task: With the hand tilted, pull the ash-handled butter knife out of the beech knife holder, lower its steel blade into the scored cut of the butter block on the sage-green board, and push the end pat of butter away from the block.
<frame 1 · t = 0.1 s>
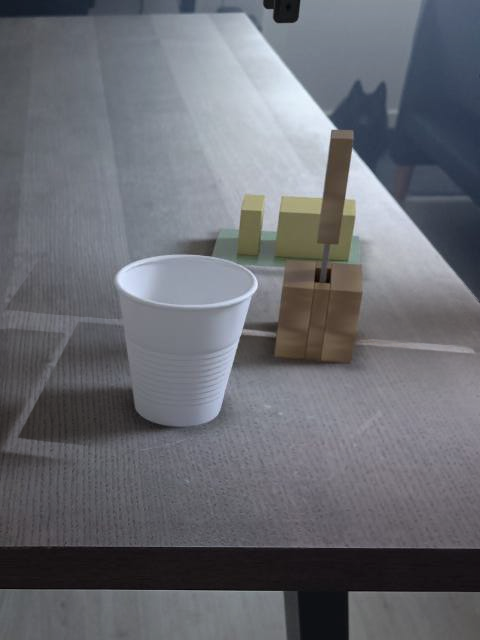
hand: (279, 15, 97), 22 cm above the table, tool pointing down, fingers open, 8 cm apart
knife: (313, 344, 86), point 1 cm above the table, touching knife holder
butter block: (286, 248, 103), resting on board
cup: (176, 419, 78), on the table
board: (284, 263, 104), on the table
knife holder: (312, 355, 86), on the table
butter pat: (249, 246, 104), point 1 cm above the table, touching board
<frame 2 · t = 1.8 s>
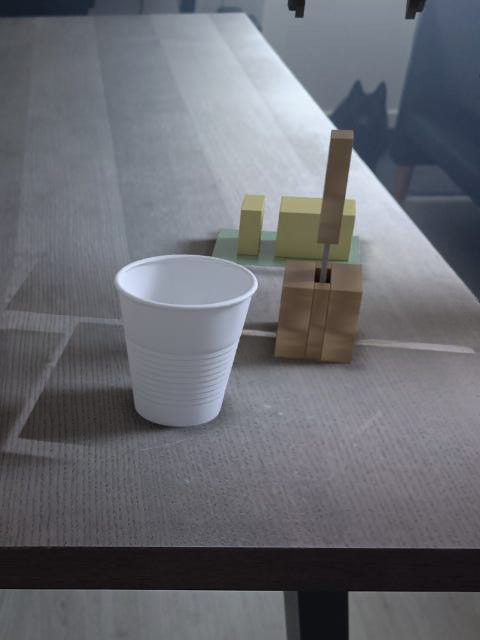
hand: (355, 12, 83), 25 cm above the table, tool tilted 45°, fingers open, 8 cm apart
nothing on the table moved.
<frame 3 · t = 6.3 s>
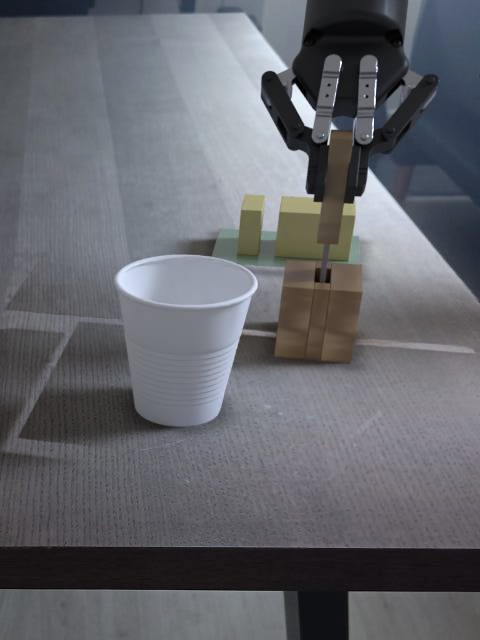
hand: (334, 197, 77), 14 cm above the table, tool tilted 45°, fingers closed on knife, 1 cm apart
knife: (313, 343, 86), point 1 cm above the table, touching gripper, knife holder
everything else where it was.
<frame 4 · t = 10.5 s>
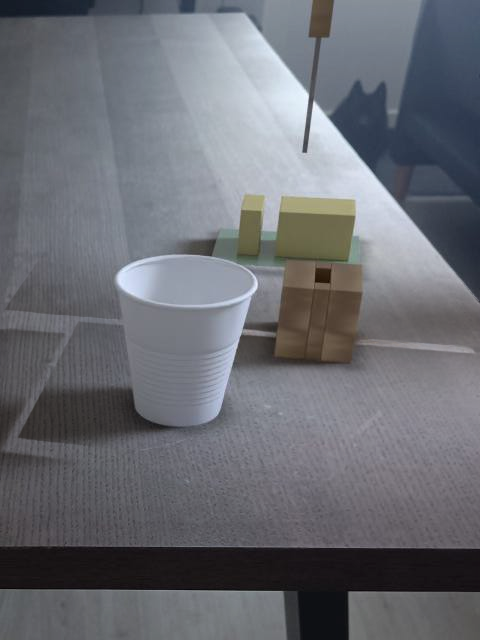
knife: (304, 149, 87), point 14 cm above the table, touching gripper
everything else where it was.
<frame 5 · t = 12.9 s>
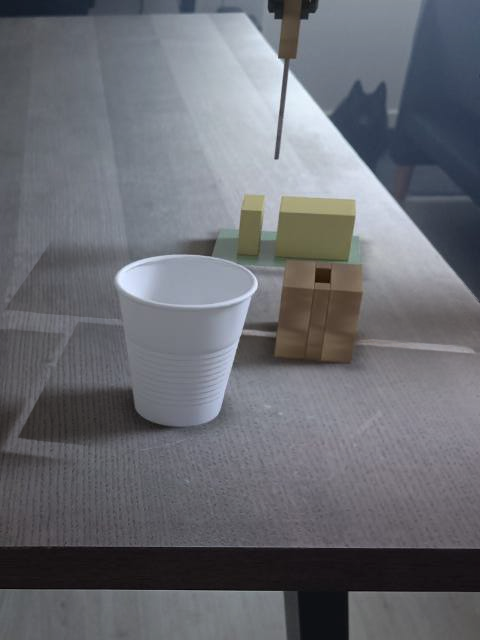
hand: (291, 13, 90), 23 cm above the table, tool tilted 45°, fingers closed on knife
knife: (276, 156, 99), point 11 cm above the table, touching gripper
everything else where it was.
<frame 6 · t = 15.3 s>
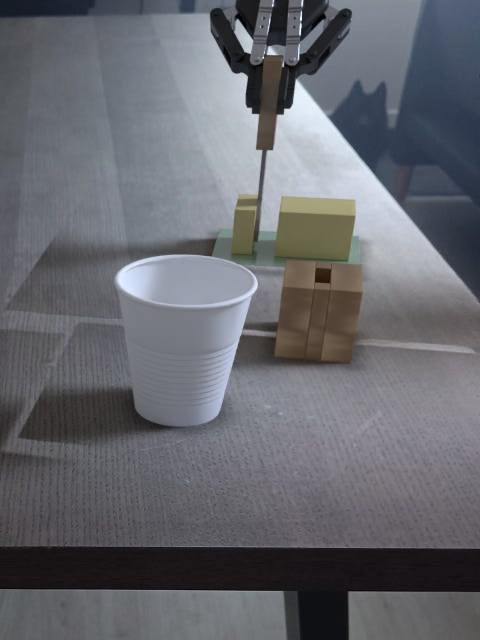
hand: (268, 109, 95), 15 cm above the table, tool tilted 45°, fingers closed on knife, 1 cm apart
knife: (256, 237, 104), point 2 cm above the table, touching butter pat, gripper
butter pat: (243, 246, 104), point 2 cm above the table, touching knife
everything else where it was.
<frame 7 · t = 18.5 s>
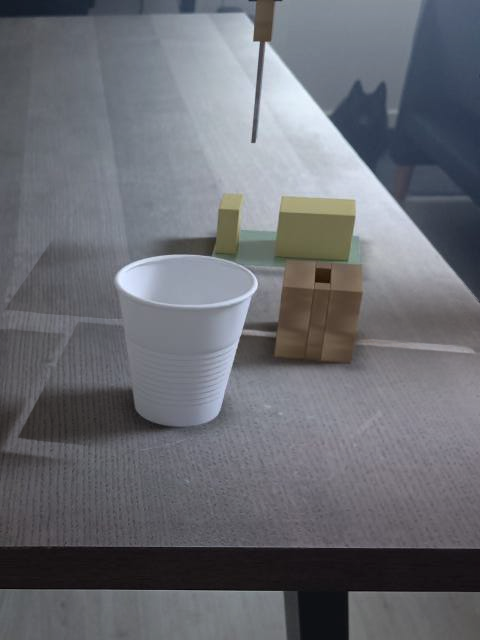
knife: (254, 139, 99), point 12 cm above the table, touching gripper
butter pat: (227, 245, 105), point 1 cm above the table, touching board
everything else where it was.
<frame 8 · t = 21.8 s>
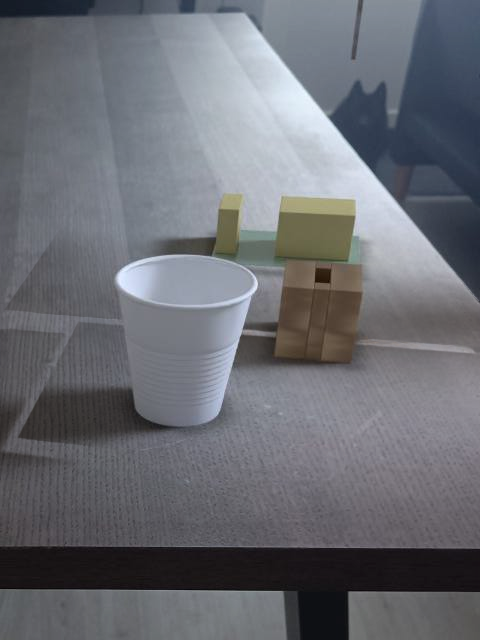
knife: (353, 57, 96), point 19 cm above the table, touching gripper
everything else where it was.
at the end: butter pat moved 2.1 cm from its start; butter pat tilted 0°; the gripper is holding knife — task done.
